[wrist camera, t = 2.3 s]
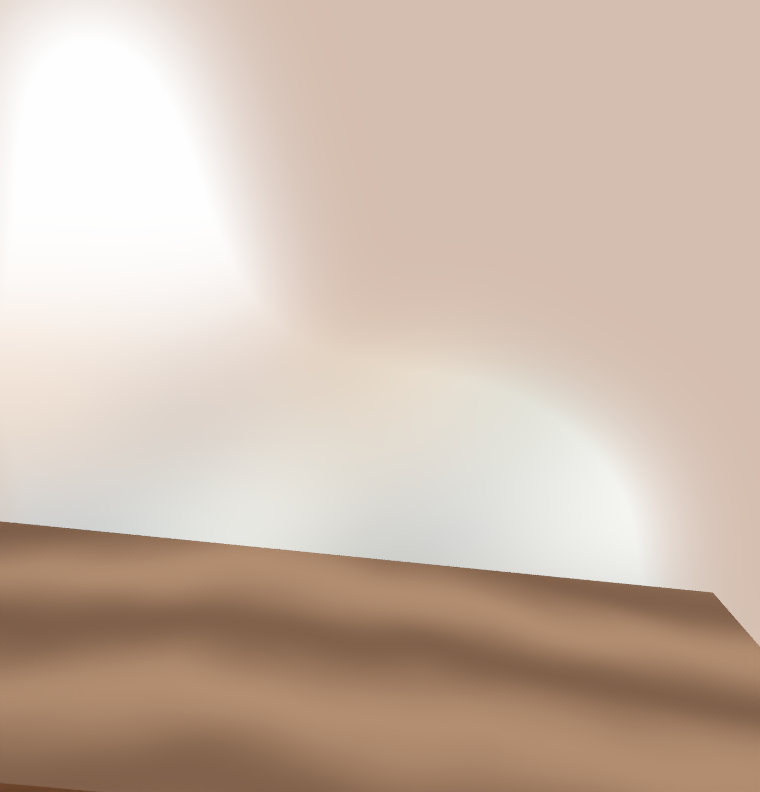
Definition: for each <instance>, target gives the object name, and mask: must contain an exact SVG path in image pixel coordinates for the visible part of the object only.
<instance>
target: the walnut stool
mask: <svg viewBox="0 0 760 792" xmlns="http://www.w3.org/2000/svg"><path fill="white" fill-rule="evenodd" d="M0 792H760V647H759V645H758V644H757V643H756V642H755V641H754V640H753V638H752V637H751V636H750V635H749V634H748V633H747V632H746V630H745V629H744V628H743V627H742V626H741V625H740V623H739V622H738V621H737V620H736V619H735V618H734V617H733V616H732V614H731V613H730V612H729V611H728V610H727V608H726V607H725V606H724V605H723V604H722V603H721V602H720V600H719V599H718V598H717V597H716V596H715V595H714V594H713V593H710V592H701V591H690V590H680V589H671V588H661V587H650V586H641V585H631V584H619V583H610V582H600V581H590V580H580V579H570V578H560V577H550V576H540V575H530V574H520V573H510V572H500V571H490V570H479V569H470V568H460V567H450V566H440V565H430V564H420V563H410V562H400V561H390V560H380V559H370V558H360V557H350V556H340V555H330V554H320V553H309V552H300V551H290V550H280V549H270V548H260V547H249V546H240V545H230V544H220V543H210V542H200V541H190V540H180V539H170V538H159V537H150V536H140V535H130V534H129V535H128V534H120V533H109V532H99V531H90V530H79V529H70V528H59V527H50V526H40V525H30V524H19V523H9V522H0Z"/></svg>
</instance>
